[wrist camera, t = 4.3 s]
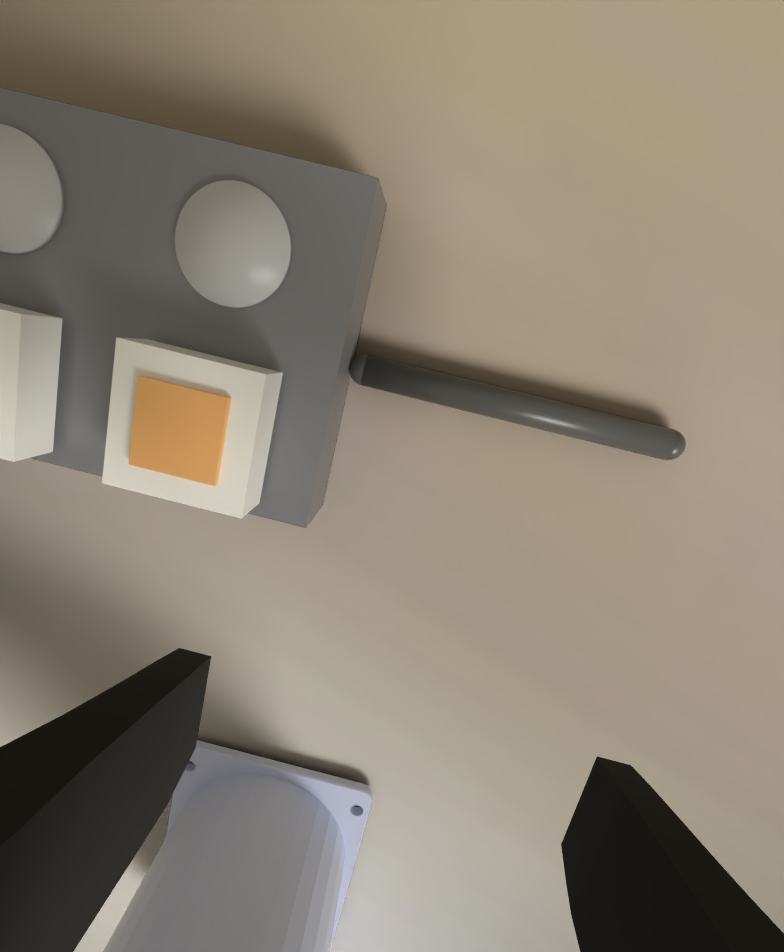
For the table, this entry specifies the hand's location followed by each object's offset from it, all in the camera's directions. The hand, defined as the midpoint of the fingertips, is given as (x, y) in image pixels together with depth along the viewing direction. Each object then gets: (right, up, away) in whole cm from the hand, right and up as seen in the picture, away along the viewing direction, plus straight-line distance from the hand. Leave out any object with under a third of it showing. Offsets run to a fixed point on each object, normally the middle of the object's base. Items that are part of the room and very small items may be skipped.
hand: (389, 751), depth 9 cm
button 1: (-5, +7, +6) cm, 10 cm away
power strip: (-6, +10, +8) cm, 14 cm away
